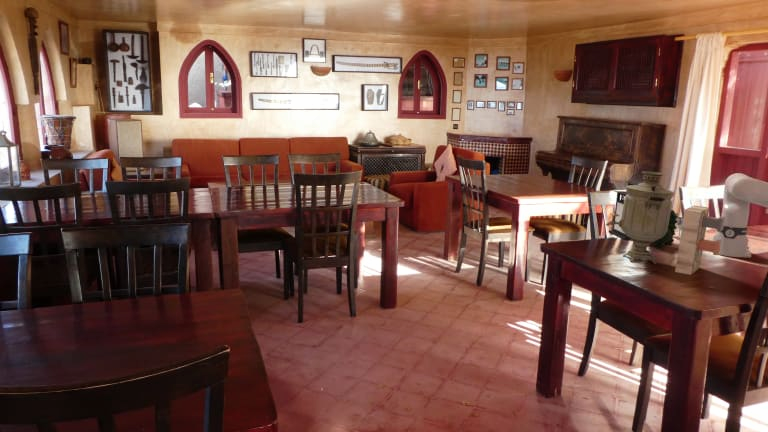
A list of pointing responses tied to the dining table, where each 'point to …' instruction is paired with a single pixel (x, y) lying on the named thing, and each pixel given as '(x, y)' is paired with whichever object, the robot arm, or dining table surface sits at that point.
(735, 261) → the dining table surface
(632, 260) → the samovar
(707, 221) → the charcoal plug
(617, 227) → the lantern
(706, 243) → the terracotta plug
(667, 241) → the toy figurine
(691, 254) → the block
